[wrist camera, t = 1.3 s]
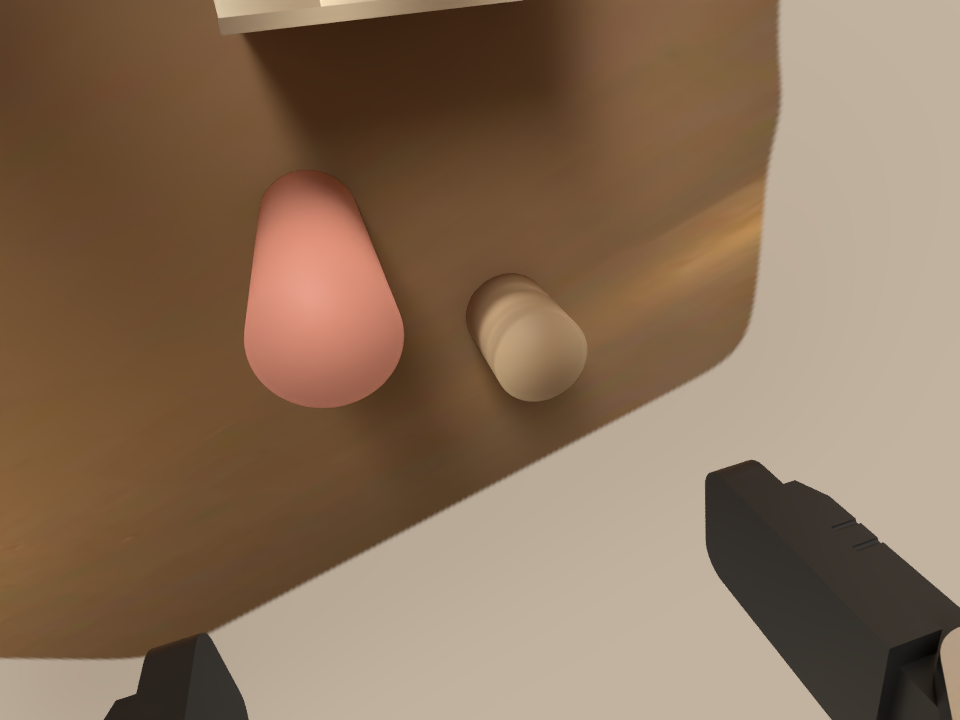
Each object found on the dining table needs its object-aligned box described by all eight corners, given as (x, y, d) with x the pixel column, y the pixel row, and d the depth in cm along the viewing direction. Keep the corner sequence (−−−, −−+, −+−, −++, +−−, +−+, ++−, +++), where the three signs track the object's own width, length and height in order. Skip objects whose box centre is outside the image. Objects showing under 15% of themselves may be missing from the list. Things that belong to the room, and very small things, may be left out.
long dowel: (272, 273, 28) (266, 422, 18) (247, 178, 26) (224, 282, 16) (367, 256, 29) (414, 390, 18) (349, 162, 27) (390, 252, 16)
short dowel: (470, 358, 32) (499, 410, 28) (461, 282, 30) (490, 325, 26) (548, 342, 33) (588, 390, 29) (544, 266, 31) (586, 305, 27)
